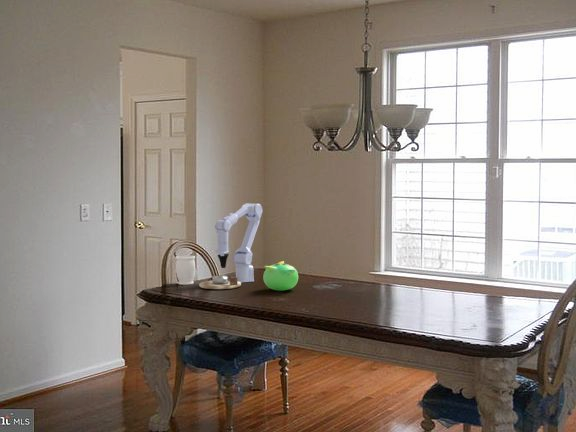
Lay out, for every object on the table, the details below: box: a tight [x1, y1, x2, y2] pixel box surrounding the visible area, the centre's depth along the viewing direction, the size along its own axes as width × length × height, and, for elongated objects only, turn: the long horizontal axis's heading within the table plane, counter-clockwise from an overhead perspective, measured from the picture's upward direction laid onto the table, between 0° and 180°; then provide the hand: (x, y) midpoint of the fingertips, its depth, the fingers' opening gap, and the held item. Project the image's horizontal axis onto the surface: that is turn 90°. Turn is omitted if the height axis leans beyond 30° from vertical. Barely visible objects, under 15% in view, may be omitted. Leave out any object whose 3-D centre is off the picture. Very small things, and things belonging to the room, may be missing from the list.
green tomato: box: [262, 260, 299, 292], centre depth 367 cm, size 18×17×15 cm
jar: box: [175, 254, 196, 286], centre depth 391 cm, size 11×10×15 cm
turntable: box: [198, 276, 242, 290], centre depth 381 cm, size 22×22×5 cm
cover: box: [212, 275, 229, 285], centre depth 381 cm, size 8×8×4 cm
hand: (223, 267), depth 385 cm, fingers closed
